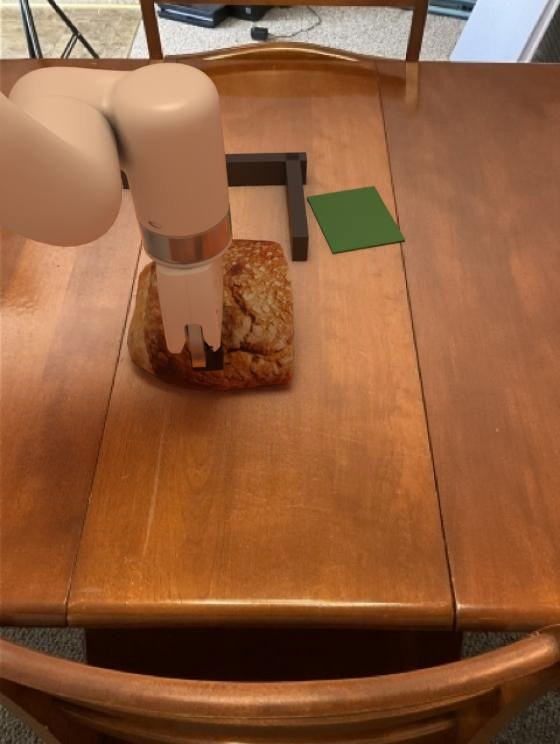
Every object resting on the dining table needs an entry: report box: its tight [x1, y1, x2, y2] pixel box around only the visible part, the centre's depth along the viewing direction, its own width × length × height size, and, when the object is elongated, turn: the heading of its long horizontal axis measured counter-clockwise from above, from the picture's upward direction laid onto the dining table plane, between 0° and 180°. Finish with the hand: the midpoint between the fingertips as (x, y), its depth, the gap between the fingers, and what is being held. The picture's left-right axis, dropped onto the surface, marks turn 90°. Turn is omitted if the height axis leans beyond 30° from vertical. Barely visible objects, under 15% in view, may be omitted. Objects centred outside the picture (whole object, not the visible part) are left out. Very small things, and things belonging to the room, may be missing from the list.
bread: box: [126, 238, 295, 391], centre depth 76 cm, size 20×18×10 cm
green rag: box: [306, 185, 406, 255], centre depth 92 cm, size 10×12×1 cm
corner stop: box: [120, 151, 310, 262], centre depth 91 cm, size 26×18×4 cm
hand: (208, 364), depth 70 cm, fingers closed
